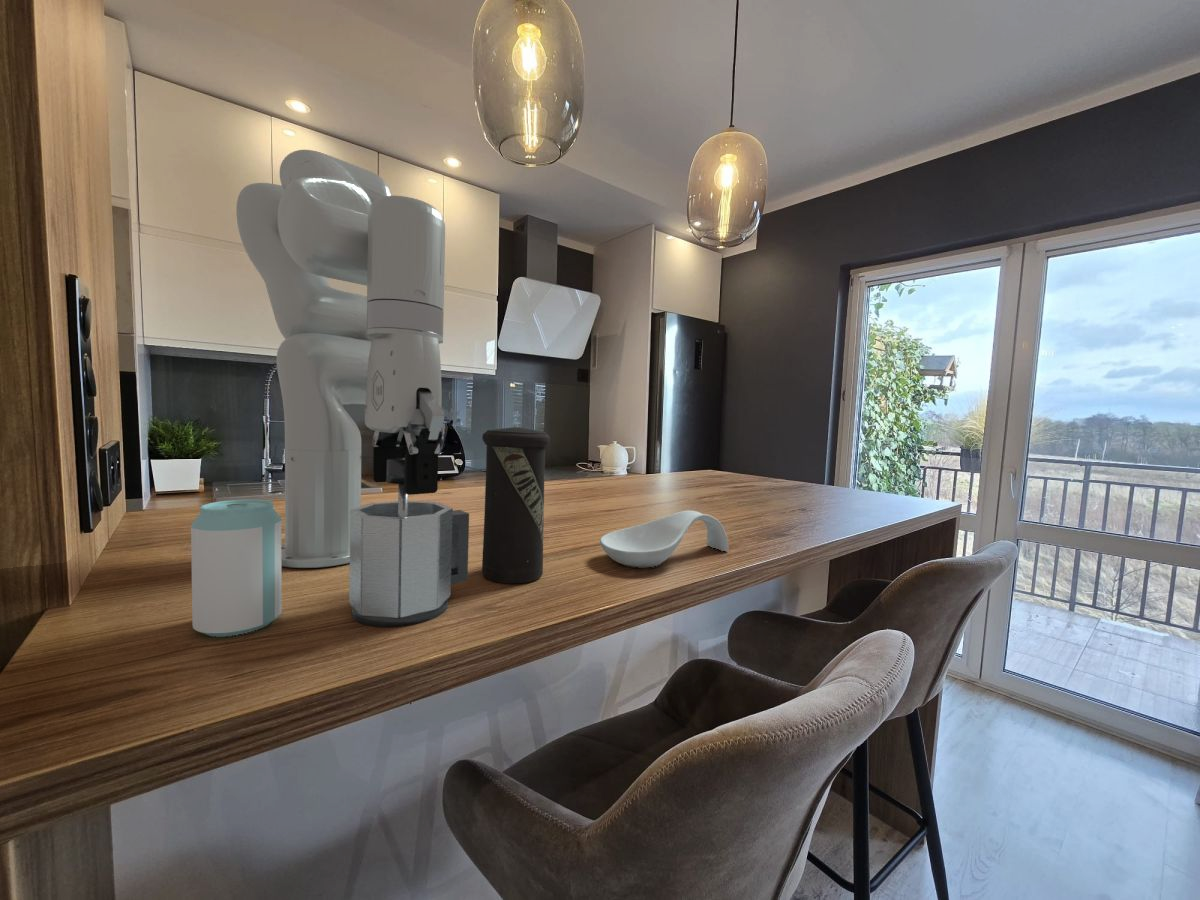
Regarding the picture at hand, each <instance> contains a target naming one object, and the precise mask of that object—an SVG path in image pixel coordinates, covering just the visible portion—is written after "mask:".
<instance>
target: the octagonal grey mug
mask: <svg viewBox="0 0 1200 900" xmlns="http://www.w3.org/2000/svg"><path fill="white" fill-rule="evenodd" d="M453 509H454V508H453V507H451V506H448V505H446V504H443V503H441V502H436V501H419V500H408V517H398V500H395V501H383V502H374V503H373V502H371V503H367V504H365V505H361V507H358V508H355V509H352V510H350V563H349V598H348V599H349V604H350V606H351V617H352V618H353V620H354V621H356V622H357V623H359V624H363V625H366V626H372V627H378V628H380V627H381V628H394V627H395V628H396V627H398V628H399V627H405V626H411V625H417V624H421V623H425V622H427V621H430V620H432V619H434V618H437V617H438V616H440V615H442V614H444V613H445V612H446V611H447V609H448V607H449V598H450V597H451V589H452V588H451V587H452V585H453V584H458V583H462V582H467V581H468V580H469V579H468V577H469V576H468V571H469V570H468V569H469V538H470V537H469V536H470V534H469V533H470V528H469V527H470V513H469V512H466V511H464V510H461V509H458V510H457V509H456V510H453Z"/></svg>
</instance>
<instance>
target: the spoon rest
mask: <svg viewBox="0 0 1200 900" xmlns="http://www.w3.org/2000/svg"><path fill="white" fill-rule="evenodd" d="M697 521H701V522H703V523H704V525H705V527H706V546H707V545H708V546H710V547H713V548H716V549H715V550H717V549H719V550H722V551H721V552H723V551H727V552H728V551H729V550H730V549H729V540H728V535H727V533H726V531H725V528H724V526H723V524H722V523H721V521H720V520H719V519H717V518H716V517H714V515H713V516H712V515H710V514H706V513H701V512H700V511H697V510H689V509H688V510H681V511H678V512H674V513H671V514H669V515H666V516H663V517H660V518H657V519H655V520H651V521H648V522H644V523H642V524H639V525H638V524H637V525H634V526H630V527H627V528H622V529H618V530H613V531H610V532H608V533H606V534H604V535H602V536H601V538H599V545H600V547H601V548H602V550H603V551H604V552H605V554H606V555H608V557H610V559H612V560H613V561H615V562H616V563H619V564H621V565H622V566H623V565H624V566H626V567H629V566H630V568H635V567H638V569H648V568H647V567H652V568H655V567H654V566H656V567H658V566H657V565H659V566H660V565H661V564H662V563H664V562H665V561H666V560H668V559H669V558H670V557H671V556H672V554H673V553H674V552H675V550H676V549H677V548H678V546H679V545H680V543H681V541H682V540H683V538H684V536H685V535H686V533H687V532H688V529H689V528H690V527H691V526H692V525H693V524H694V522H697ZM708 546H707V547H708ZM710 547H709V548H710ZM713 548H712V549H713ZM719 550H718V551H719ZM645 567H646V568H645Z"/></svg>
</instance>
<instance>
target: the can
mask: <svg viewBox="0 0 1200 900" xmlns="http://www.w3.org/2000/svg"><path fill="white" fill-rule="evenodd" d="M199 510H200V511H199V514H197V515H198V516H196V518H194V520H193V521H192V523H191V524H190V535H191V536H190V537H191V539H190V540H191V542H190V545H191V548H190V549H191V551H190V552H191V600H192V602H191V605H192V606H191V609H192V610H191V611H192V613H191V615H192V617H191V619H192V620H191V623H192V629H193V630H195V631H197V632H199V633H201V634H204V635H207V636H208V637H214V638H225V637H226V636H228V637H235V636H234V635H236V636H239V635H238V634H242V635H244V634H243V633H246V632H250V633H252V632H251V631H253V632H255V631H254V630H256V631H258V629H259V630H261V629H262V628H265V627H266V626H268V625H269V624H271V622H273V621H274V620H276V619H277V618H278V617H279V616H280V615H281V614H282V566H281V546H282V517H281V516H280V514H279V513H278V512H277V510H276V509H275V508H274V502H273V501H271V500H265V499H232V500H221V501H215V502H210V503H209V502H208V503H206V504H202V505H201V506H200V507H199ZM260 628H261V629H260ZM246 634H247V633H246ZM232 635H233V636H232ZM215 636H216V637H215ZM226 638H227V637H226Z"/></svg>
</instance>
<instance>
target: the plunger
mask: <svg viewBox="0 0 1200 900" xmlns="http://www.w3.org/2000/svg"><path fill="white" fill-rule="evenodd" d="M404 476H405V457H403V458H391V459H387V477H386V482H385V483H387V484H394V485H398V493H397V494H398V495H397V496H398V497H397V498H398V499H397V501H398V517H408V501H409V495H408V494H406V493H405V492H404Z"/></svg>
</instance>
